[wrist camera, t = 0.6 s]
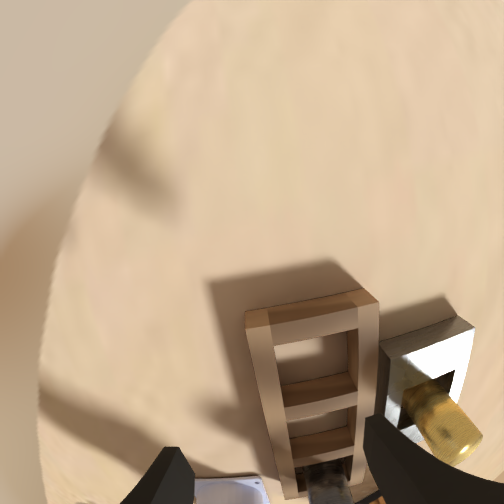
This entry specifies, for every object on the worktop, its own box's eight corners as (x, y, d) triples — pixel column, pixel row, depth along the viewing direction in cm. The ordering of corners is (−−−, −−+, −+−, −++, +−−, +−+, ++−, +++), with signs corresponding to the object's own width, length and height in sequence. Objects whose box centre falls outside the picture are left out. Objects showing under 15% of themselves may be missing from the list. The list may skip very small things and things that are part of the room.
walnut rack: (356, 466, 23) (362, 482, 20) (282, 482, 23) (285, 499, 21) (363, 288, 18) (378, 301, 16) (245, 311, 18) (245, 329, 16)
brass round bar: (427, 393, 21) (473, 454, 12) (394, 405, 21) (436, 475, 12) (433, 363, 20) (488, 425, 11) (398, 376, 20) (449, 448, 11)
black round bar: (337, 461, 22) (357, 530, 14) (302, 469, 23) (315, 540, 14) (338, 442, 22) (362, 517, 13) (300, 450, 22) (314, 529, 13)
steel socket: (437, 414, 22) (447, 428, 19) (369, 440, 22) (376, 457, 19) (458, 315, 19) (475, 327, 17) (377, 342, 19) (390, 359, 17)
